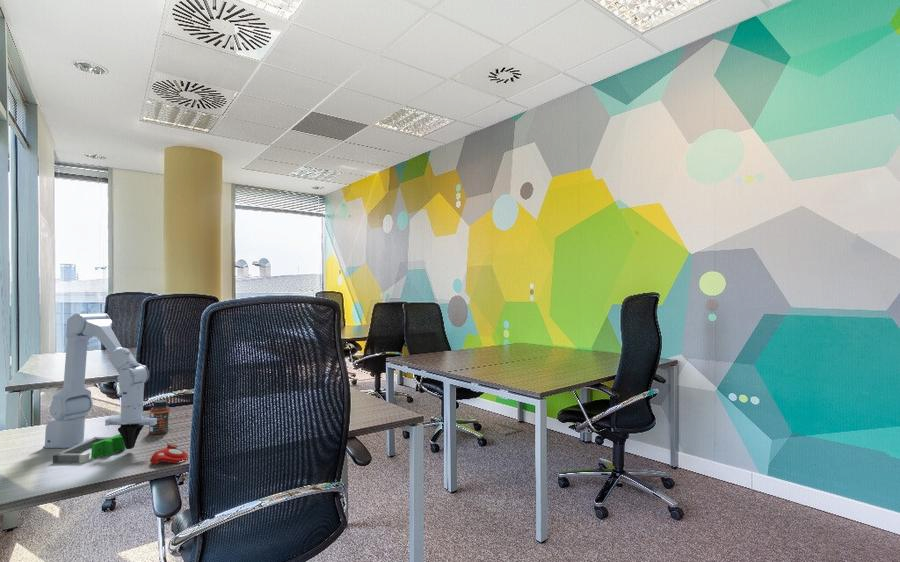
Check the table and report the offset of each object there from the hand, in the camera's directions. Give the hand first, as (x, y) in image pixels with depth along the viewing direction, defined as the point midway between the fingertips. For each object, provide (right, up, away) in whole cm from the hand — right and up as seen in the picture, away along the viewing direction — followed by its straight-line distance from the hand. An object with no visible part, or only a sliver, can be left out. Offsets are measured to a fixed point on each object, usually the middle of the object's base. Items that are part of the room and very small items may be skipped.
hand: (130, 448), depth 140 cm
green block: (-6, -2, 0) cm, 6 cm away
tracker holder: (+16, -2, -5) cm, 17 cm away
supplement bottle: (-5, -2, +21) cm, 21 cm away
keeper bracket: (-11, -1, -1) cm, 12 cm away
